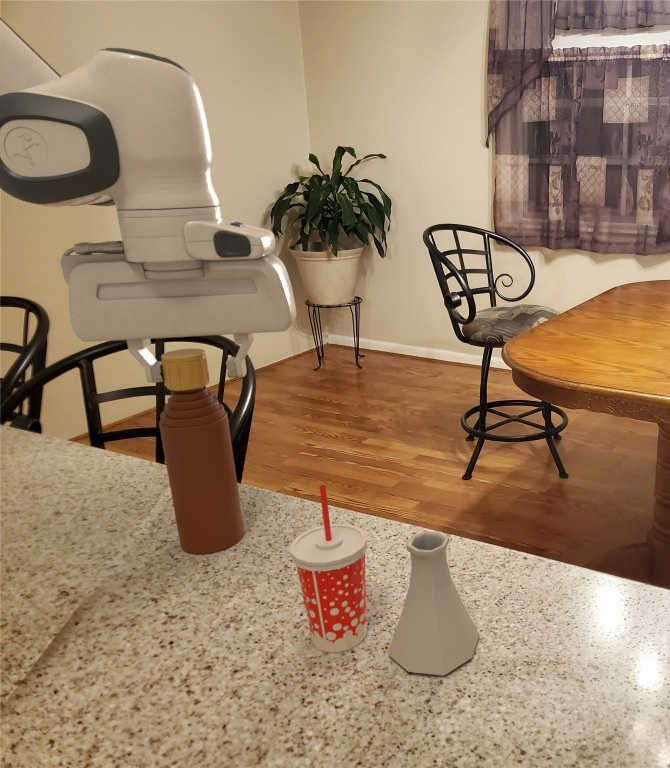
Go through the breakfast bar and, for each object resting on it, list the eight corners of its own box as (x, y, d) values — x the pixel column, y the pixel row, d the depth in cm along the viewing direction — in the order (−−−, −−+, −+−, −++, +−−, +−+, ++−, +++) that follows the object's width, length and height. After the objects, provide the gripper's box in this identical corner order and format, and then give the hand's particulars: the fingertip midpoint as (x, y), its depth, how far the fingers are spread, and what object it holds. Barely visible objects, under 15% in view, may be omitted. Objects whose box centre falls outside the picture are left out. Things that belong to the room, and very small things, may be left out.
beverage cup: (388, 618, 61) (375, 473, 56) (354, 664, 55) (337, 508, 51) (326, 607, 62) (309, 466, 58) (288, 652, 57) (266, 499, 52)
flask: (372, 660, 55) (361, 552, 52) (423, 611, 61) (416, 511, 58) (447, 689, 52) (440, 575, 49) (494, 634, 58) (490, 529, 55)
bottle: (172, 556, 71) (138, 371, 65) (191, 526, 77) (162, 354, 71) (236, 551, 72) (208, 368, 66) (250, 521, 78) (226, 351, 72)
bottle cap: (168, 382, 70) (162, 350, 69) (210, 377, 72) (205, 346, 71) (164, 392, 67) (159, 360, 66) (209, 387, 68) (204, 355, 67)
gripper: (39, 246, 61) (73, 395, 65) (279, 238, 63) (296, 381, 67) (72, 239, 66) (101, 376, 71) (289, 232, 69) (305, 363, 73)
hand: (198, 378), depth 69 cm, fingers open, 6 cm apart
